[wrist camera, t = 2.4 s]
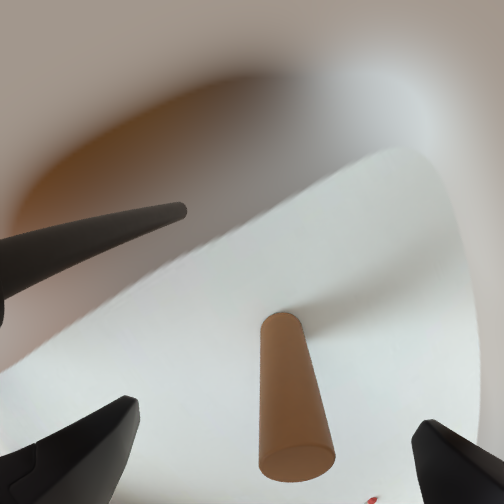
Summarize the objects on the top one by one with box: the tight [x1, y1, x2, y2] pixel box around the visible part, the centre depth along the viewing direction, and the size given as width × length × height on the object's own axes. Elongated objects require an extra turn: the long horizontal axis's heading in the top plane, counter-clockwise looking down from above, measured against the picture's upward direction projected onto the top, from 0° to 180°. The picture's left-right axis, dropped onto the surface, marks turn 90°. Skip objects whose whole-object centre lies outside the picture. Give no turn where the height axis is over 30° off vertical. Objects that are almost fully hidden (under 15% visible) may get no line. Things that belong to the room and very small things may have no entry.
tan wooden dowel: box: [259, 313, 336, 482], centre depth 10 cm, size 2×2×8 cm
